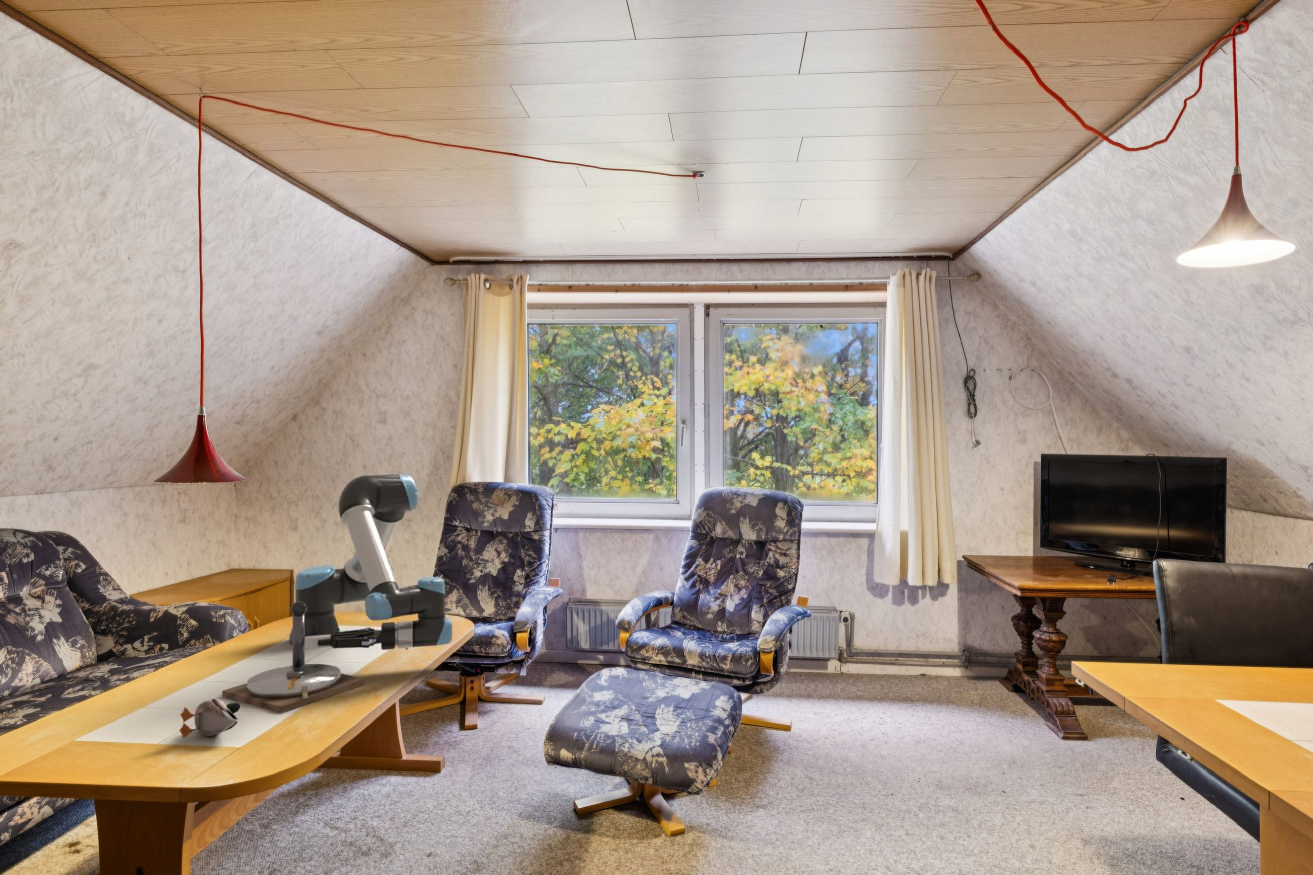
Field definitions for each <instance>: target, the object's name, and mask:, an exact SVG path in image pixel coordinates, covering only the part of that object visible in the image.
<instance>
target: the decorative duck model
mask: <svg viewBox="0 0 1313 875" xmlns="http://www.w3.org/2000/svg"><path fill="white" fill-rule="evenodd" d="M240 709H241V704H240V703H239V702H236V701H235V702H230V703H228V704H226V703H225V701H223V700H221V699H218V698H211V699H207V700H204V701H202V702H200V703H199V704H198V706H197V707H196V709H195V711H194V713H192V712H190V710H189V709H188V708H187V707H184V709H183V711H182V712H181V713H180V716H181V717H180V718H182V721H183V722H182V723H183V724H182V726H181V728H180V729H179V732H180V734H181V736H182V739H185V738H186V737H187V736H188V735H190V734H191V733H192V732H195V731H198V733H200V734H201V735H203V736H205V737H213V736H216V735H218V734H221V733H223V732H225V731H228V730H230V729H232V728H234V727H235V726H236V725H237V724H238V720H239V718H238V717H236V715H235V713H237V712H238V711H239V710H240ZM193 717H194V726H195V728H194V729H193V728H190V727H189V726H188V725H187V724H186V722H187V721H188V720H190V719H191V718H193ZM236 720H237V721H236Z"/></svg>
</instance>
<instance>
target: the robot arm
mask: <svg viewBox="0 0 1313 875" xmlns="http://www.w3.org/2000/svg"><path fill="white" fill-rule="evenodd" d="M418 493H419V492H418V488H417V485H416V482H415V480H414V479H413V477H412V476H411V475H409V474H403V473H402V474H400V473H397V474H375V475H369V474H366V475H360V476H358V477H355V478H353V479H351V481H349V482H348V483H347V484H346V485H345V487H344V488H343V489H342V492H341V493H340V496H339V499H338V515H339V517H340V520H341V523H342V524H343V525H345V526H346V527H347V529H348V532H349V535H350V539H351V541H352V544H353V548H354V550H355V551H354V554H353V556H352V557H350V558H349V559H348V560H347V561H346V562H345V564H344V566H343V568H335V566H334V565H327V564H325V565H318V566H313V567H310V568H309V567H308V568H306V569H303V570H300V571H299V572H298V573H297V575H296V577H295V585H294V590H295V602H298V601H301V602H304V603H305V604H306V606H307V610H306V612H305V613H304V614H305V649H314V648H315V649H317V648H325V647H326V648H329V647H331V648H332V649H353V648H354V649H355V648H363V649H364V648H365V649H369V648H370V647H372V646H375V645H377V644H378V645H379V644H380V648H381V650H383V651H386V650H387V651H388V650H394V649H396V648H397V649H405V650H406V651H407V650H408V649H410V648H419V647H422V648H423V647H433V646H434V647H437V646H443V645H448V644H450V643H451V642H453V620H452V618H450V617H446V614H445V610H446V609H445V606H446V586H445V581H444V579H443V578H442V577H438V576H428V577H427V576H426V577H423V578H419V579H418V581H417V585H416V586H415V587H408V588H407V587H406V588H399V585H398V582H397V581H396V578H395V575H394V572H393V569H392V567H391V566H392V565H391V564H390V560H389V557H388V555H387V552H386V548H387V545H388V543H389V540H390V538H391V536H392V533H393V531H394V529H395V526H396V523H399V522H401V520H403V518H404V516H405V514H406V512H412V511H414V510H415V509H416V508H417V506H418V502H419V495H418ZM356 602H357V603H359V602H364V608H365V610H364V611H365V614H366V617H367V618H368V619H369V620H371V621H386V620H387V621H388V620H389V619H394V618H399V617H405V616H406V617H407V616H413V615H417V619H415V620H412V619H411V620H400V621H399V620H398V621H397V623H396V622H394V621H389V622H382V623H381V624H380V626H381V627H380V628H381V629H375V628H372V627H365V628H360V629H353V630H343V631H342V630H340V627H339V623H338V621H337V618H336V616H335V605H342V604H349V603H356ZM288 637H289V638H288V640H289V644H292V645H293V626H292V628H291V631H290V633H289V636H288Z"/></svg>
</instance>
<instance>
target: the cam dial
mask: <svg viewBox="0 0 1313 875" xmlns="http://www.w3.org/2000/svg"><path fill="white" fill-rule="evenodd" d="M306 610H307V606H306V604H305V603H304V602H301V601H298V602H296V601H295V602H294V603H293V604H291V607H290V613H291V614H292V627H293V644H292V665H286V666H281V667H275V668H273V669H268V670H265V671H262V672H260V673H259V672H258V673H257V674H254V675H253V676H252V677H249V679H248V680H247V681H246V683H247V692H248V693H249V694H251V695H253V696H257V697H264V698H285V697H294V696H301V695H302V685H307V686H308V694H311V693H315V692H318V691H322V690H325V689H327V688H330V687H332V686H334V685H335V684H337V683H338V682H339V681H340V679H341V674H342V673H341V669H340V668H339V667H337V666H335V665H330V664H325V663H305V660H306V659H305V656H306V655H305V652H306V651H305V649H306V648H305V614H304V613H305V612H306Z"/></svg>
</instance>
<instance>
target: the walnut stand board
mask: <svg viewBox="0 0 1313 875" xmlns="http://www.w3.org/2000/svg"><path fill="white" fill-rule="evenodd" d="M363 685H365V678H363V677H357V676H354V675H349V674H346V673H345V674H344V673H341V679H340V681H339V682H338V683H337V684H335V685H334V686H332V687H330V688H327V689H325V690H322V691H318V692H315V693H311V694H308V686H307V685H302V695H301V696H294V697H285V698H264V697H257V696H253V695H251V694H249V693H248V692H247V682H246V683H243V684H239V685H237V686H233V687H229V688H227V689H224V690H222V691H221V697H222V696H223V697H222V698H226V697H227V698H226V699H229V698H231V699H230V700H233V699H234V700H233V701H236V700H237V702H241V703H244V704H248V705H252V706H255V707H259V708H262V709H265V710H269V711H271V712H272V711H273V712H277V713H281V714H283V712H284V713H286V712H289V711H292V710H295V709H298V708H300V706H301V707H303V706H306V705H309V704H312V703H314V702H317V701H321V700H323V699H325V698H330V697H332V696H334V695H337V694H341V693H344V692H346V691H350V690H352V689H355V688H357V687H360V686H363ZM297 707H298V708H297Z"/></svg>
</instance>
